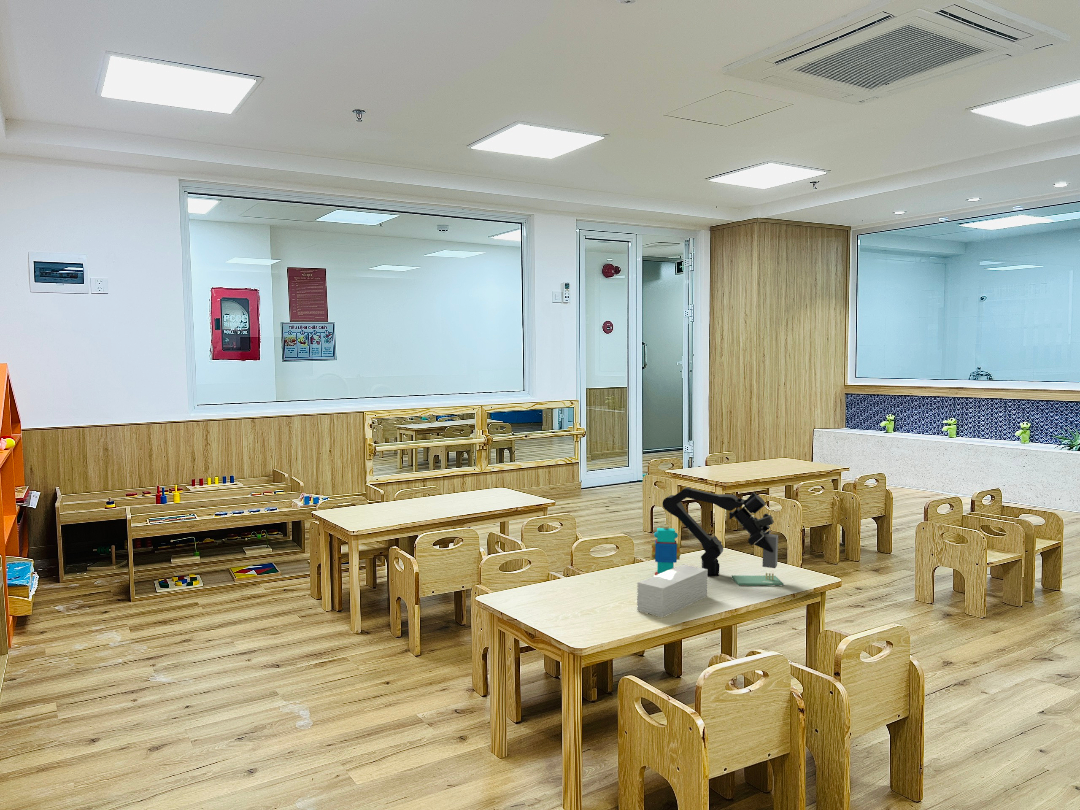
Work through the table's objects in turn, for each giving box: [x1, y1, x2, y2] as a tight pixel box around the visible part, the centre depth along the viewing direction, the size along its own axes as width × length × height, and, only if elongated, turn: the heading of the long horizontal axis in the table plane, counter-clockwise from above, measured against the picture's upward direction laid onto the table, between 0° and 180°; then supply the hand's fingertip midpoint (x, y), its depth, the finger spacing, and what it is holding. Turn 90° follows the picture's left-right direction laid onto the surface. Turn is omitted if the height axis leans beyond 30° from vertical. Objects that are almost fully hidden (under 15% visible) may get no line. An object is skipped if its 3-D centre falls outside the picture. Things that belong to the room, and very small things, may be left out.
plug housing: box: [761, 533, 779, 569], centre depth 319 cm, size 5×5×12 cm
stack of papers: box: [636, 564, 709, 618], centre depth 291 cm, size 32×11×11 cm, turn 139°
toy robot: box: [650, 519, 681, 576], centre depth 321 cm, size 12×6×25 cm, turn 84°
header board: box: [731, 572, 785, 587], centre depth 319 cm, size 18×11×4 cm, turn 90°
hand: (773, 550), depth 318 cm, fingers closed on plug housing, 5 cm apart
